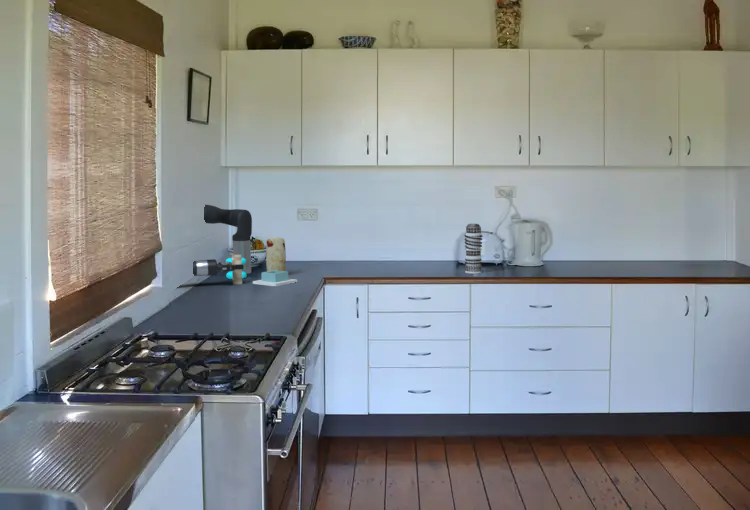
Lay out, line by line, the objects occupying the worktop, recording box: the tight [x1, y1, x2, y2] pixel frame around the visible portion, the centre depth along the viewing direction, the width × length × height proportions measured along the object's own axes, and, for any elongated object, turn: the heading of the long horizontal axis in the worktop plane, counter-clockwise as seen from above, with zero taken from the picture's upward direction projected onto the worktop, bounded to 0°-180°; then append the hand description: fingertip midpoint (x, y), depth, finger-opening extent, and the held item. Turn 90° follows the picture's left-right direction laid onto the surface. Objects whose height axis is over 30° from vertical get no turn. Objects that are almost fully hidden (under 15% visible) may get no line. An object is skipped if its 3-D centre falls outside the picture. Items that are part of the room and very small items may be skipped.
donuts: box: [225, 257, 247, 280], centre depth 367 cm, size 10×10×10 cm
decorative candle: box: [464, 223, 483, 274], centre depth 378 cm, size 9×9×25 cm
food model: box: [265, 236, 287, 272], centre depth 370 cm, size 10×7×20 cm
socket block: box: [252, 270, 298, 287], centre depth 351 cm, size 15×15×5 cm
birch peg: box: [231, 253, 243, 286], centre depth 348 cm, size 4×4×14 cm
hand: (242, 265), depth 349 cm, fingers open, 5 cm apart
